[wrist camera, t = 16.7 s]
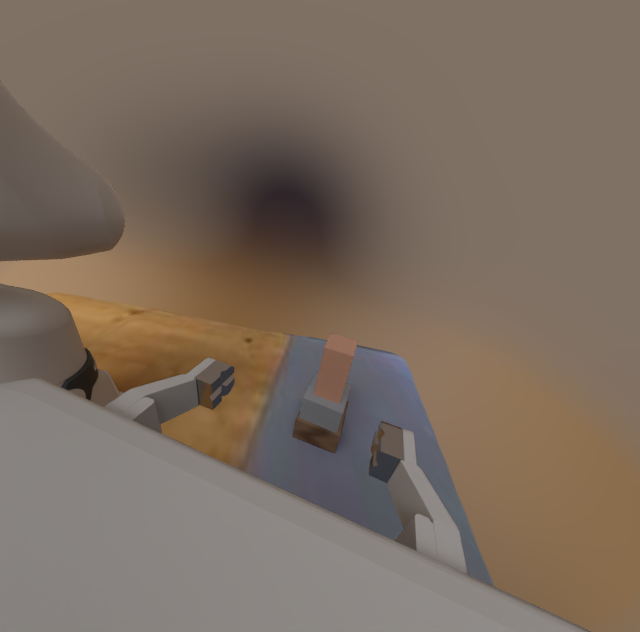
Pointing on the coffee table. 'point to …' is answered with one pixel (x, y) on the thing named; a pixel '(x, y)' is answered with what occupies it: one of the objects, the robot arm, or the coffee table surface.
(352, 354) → the terracotta block
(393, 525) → the coffee table surface
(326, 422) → the tower top
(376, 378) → the coffee table surface
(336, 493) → the coffee table surface
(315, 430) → the tower base
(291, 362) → the coffee table surface
